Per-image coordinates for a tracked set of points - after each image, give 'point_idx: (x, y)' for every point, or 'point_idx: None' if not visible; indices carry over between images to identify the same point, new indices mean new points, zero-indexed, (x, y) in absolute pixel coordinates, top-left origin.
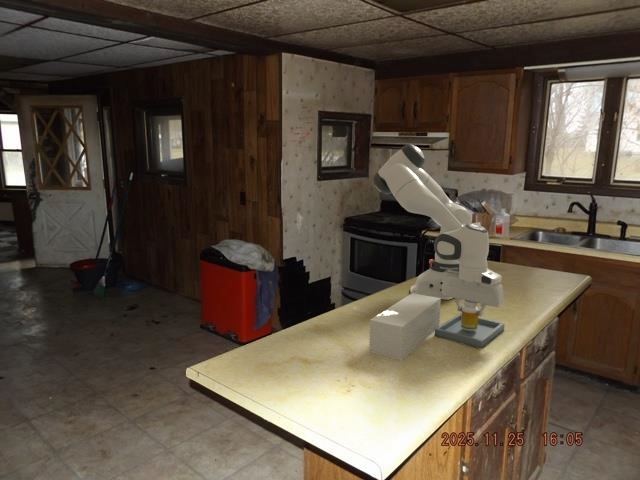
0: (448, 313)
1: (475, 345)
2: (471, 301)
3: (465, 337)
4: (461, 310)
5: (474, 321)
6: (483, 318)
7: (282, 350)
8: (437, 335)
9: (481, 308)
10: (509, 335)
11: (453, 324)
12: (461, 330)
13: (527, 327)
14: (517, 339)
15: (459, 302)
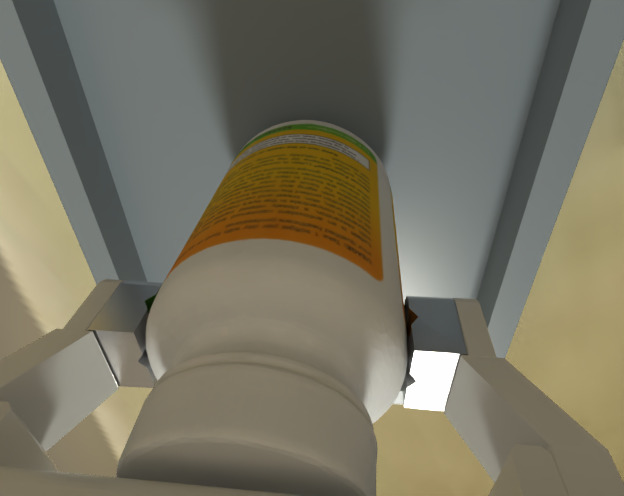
0: (581, 412)
1: None
2: (150, 483)
3: None
4: (409, 306)
5: (205, 210)
6: None
7: None
8: None
9: (18, 372)
10: (86, 296)
11: (490, 237)
12: (372, 147)
13: (111, 423)
14: (9, 266)
15: (491, 445)
